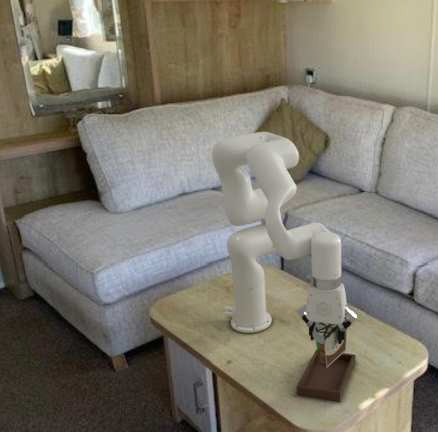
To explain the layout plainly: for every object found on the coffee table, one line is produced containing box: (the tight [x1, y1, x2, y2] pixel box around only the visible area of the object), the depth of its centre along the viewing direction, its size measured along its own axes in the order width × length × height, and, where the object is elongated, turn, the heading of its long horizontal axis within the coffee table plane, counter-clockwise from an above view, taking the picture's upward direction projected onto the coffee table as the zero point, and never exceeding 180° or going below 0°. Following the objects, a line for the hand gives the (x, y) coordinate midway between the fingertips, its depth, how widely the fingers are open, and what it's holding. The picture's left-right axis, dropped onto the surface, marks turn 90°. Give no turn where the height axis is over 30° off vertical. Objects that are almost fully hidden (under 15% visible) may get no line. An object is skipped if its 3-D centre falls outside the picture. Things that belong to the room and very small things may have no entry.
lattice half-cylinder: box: [313, 316, 349, 368], centre depth 166 cm, size 12×6×10 cm, turn 150°
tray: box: [296, 348, 357, 403], centre depth 170 cm, size 12×18×3 cm, turn 168°
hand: (327, 339), depth 165 cm, fingers closed on lattice half-cylinder, 7 cm apart
